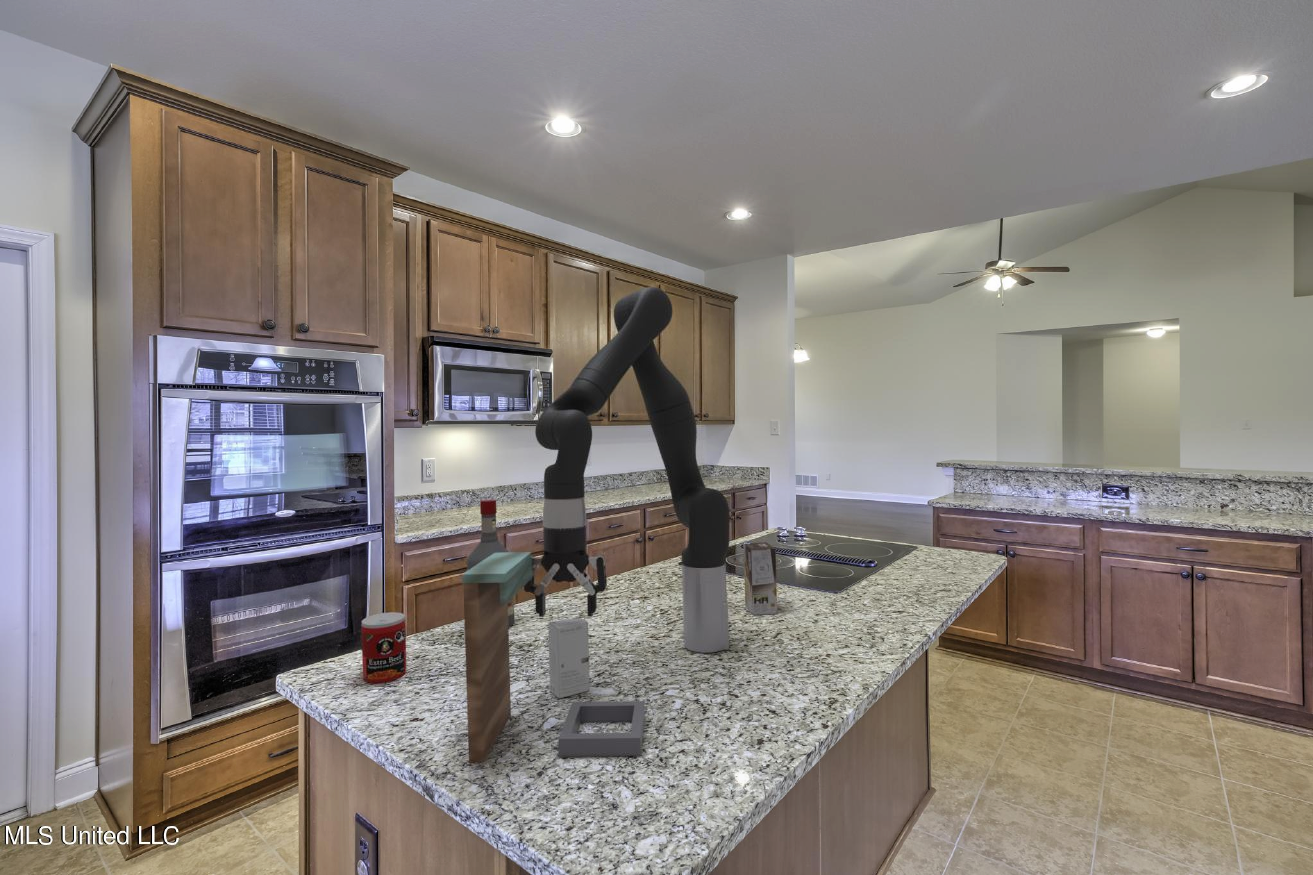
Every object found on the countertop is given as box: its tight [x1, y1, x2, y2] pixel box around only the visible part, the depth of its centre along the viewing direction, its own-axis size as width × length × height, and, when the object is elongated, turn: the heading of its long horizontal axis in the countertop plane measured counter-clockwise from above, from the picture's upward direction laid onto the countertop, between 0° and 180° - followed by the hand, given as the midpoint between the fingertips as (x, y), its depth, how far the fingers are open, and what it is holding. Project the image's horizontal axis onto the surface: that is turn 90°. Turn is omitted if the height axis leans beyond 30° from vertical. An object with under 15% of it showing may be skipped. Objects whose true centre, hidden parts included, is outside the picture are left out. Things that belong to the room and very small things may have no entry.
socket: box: [557, 700, 646, 758], centre depth 89 cm, size 12×12×2 cm
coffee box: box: [742, 541, 778, 616], centre depth 150 cm, size 9×6×16 cm
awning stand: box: [461, 551, 532, 764], centre depth 90 cm, size 6×15×26 cm, turn 178°
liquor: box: [466, 499, 516, 628], centre depth 142 cm, size 9×9×30 cm
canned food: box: [360, 611, 408, 684], centre depth 115 cm, size 8×8×11 cm
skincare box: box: [547, 616, 590, 699], centre depth 105 cm, size 6×4×12 cm
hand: (566, 615), depth 106 cm, fingers open, 8 cm apart
